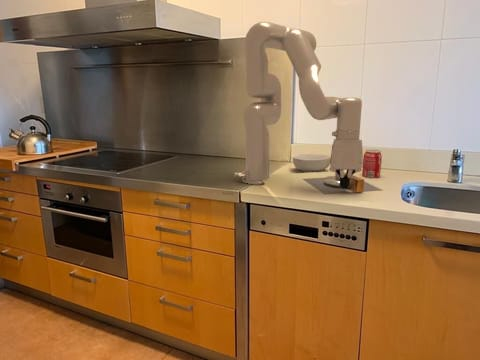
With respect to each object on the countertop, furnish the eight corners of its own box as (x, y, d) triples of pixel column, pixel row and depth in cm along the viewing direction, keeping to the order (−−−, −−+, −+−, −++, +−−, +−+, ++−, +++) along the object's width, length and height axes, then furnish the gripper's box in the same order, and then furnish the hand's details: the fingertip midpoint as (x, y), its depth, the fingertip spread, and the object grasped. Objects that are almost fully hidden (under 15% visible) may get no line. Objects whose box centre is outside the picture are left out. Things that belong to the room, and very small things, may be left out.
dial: (318, 180, 139) (318, 169, 137) (345, 177, 142) (345, 167, 141) (345, 193, 121) (345, 181, 120) (375, 189, 125) (376, 178, 124)
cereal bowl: (316, 166, 173) (317, 151, 172) (337, 173, 158) (338, 157, 156) (285, 169, 167) (286, 154, 166) (304, 177, 152) (305, 160, 151)
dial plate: (324, 198, 123) (324, 193, 122) (302, 182, 144) (302, 178, 143) (382, 194, 127) (383, 189, 126) (352, 179, 148) (352, 175, 147)
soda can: (375, 177, 151) (378, 149, 148) (382, 181, 144) (385, 152, 141) (359, 177, 150) (361, 149, 147) (365, 182, 143) (367, 152, 140)
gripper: (327, 136, 117) (324, 190, 121) (373, 136, 116) (369, 191, 120) (323, 133, 124) (320, 185, 128) (367, 134, 123) (363, 185, 127)
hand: (344, 187), depth 124 cm, fingers closed
